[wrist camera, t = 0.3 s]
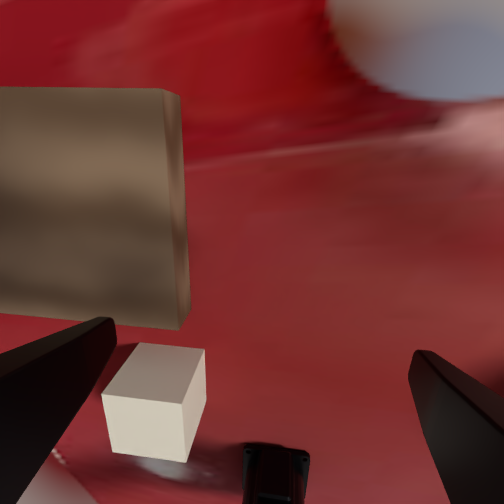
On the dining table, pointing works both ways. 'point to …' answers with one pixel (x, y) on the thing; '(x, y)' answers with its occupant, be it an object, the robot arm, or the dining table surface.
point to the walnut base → (93, 205)
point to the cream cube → (156, 402)
